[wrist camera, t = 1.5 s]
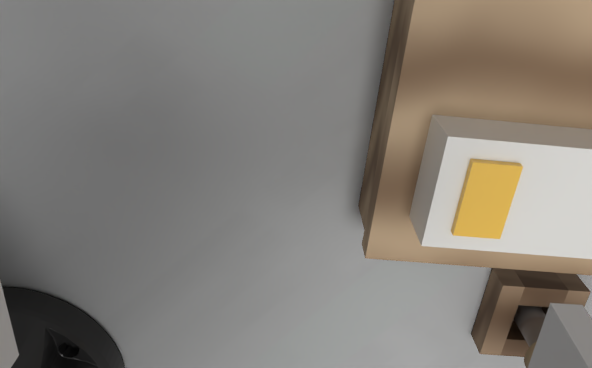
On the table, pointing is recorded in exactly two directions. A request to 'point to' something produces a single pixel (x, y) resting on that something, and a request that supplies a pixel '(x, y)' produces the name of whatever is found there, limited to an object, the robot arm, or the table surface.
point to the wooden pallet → (480, 105)
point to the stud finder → (505, 188)
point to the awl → (529, 326)
